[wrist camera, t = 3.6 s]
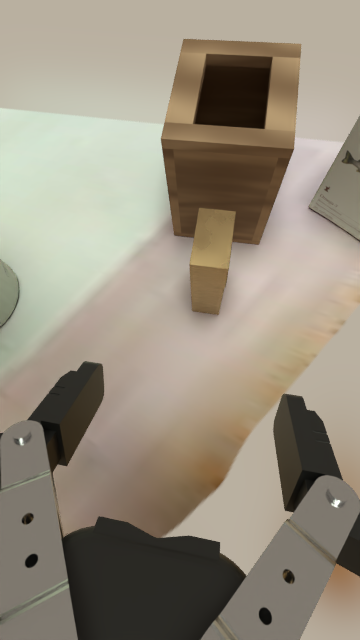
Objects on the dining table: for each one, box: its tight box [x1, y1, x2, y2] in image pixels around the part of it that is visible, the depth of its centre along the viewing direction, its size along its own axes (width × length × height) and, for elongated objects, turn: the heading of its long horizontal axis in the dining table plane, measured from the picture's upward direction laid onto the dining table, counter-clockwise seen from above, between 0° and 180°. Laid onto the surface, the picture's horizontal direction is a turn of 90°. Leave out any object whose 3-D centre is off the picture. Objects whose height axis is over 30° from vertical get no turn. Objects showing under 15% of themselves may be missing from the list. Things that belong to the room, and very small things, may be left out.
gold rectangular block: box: [190, 208, 236, 315], centre depth 25 cm, size 4×3×10 cm, turn 171°
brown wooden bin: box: [161, 39, 301, 244], centre depth 27 cm, size 10×9×12 cm
